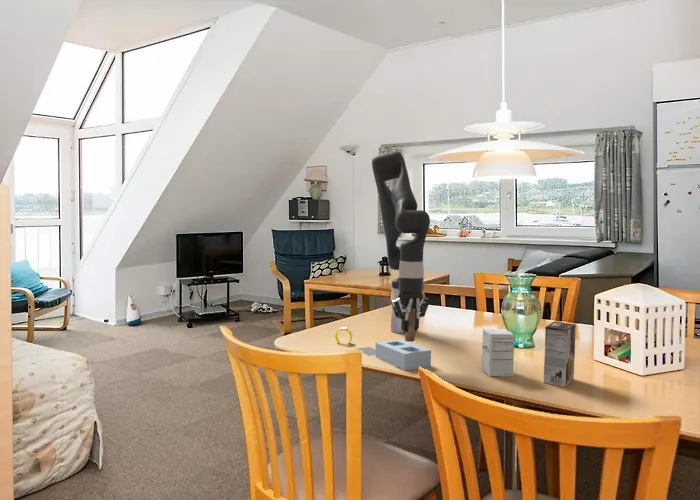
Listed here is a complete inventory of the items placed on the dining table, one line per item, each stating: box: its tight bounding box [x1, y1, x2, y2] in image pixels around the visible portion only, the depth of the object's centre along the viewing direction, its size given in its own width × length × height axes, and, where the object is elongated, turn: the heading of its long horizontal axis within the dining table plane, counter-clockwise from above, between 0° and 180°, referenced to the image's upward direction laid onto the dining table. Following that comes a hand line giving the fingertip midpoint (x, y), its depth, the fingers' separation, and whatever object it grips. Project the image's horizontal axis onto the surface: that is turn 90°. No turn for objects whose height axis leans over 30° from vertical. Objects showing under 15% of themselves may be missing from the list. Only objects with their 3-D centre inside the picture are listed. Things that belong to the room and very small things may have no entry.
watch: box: [334, 326, 353, 345], centre depth 202 cm, size 6×3×6 cm, turn 71°
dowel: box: [404, 308, 416, 343], centre depth 175 cm, size 3×3×10 cm
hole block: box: [374, 339, 432, 371], centre depth 180 cm, size 10×16×5 cm, turn 30°
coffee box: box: [543, 321, 577, 387], centre depth 161 cm, size 9×6×16 cm
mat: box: [355, 346, 376, 357], centre depth 191 cm, size 6×10×1 cm, turn 30°
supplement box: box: [481, 328, 515, 377], centre depth 168 cm, size 7×7×13 cm
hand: (410, 331), depth 176 cm, fingers closed on dowel, 3 cm apart
